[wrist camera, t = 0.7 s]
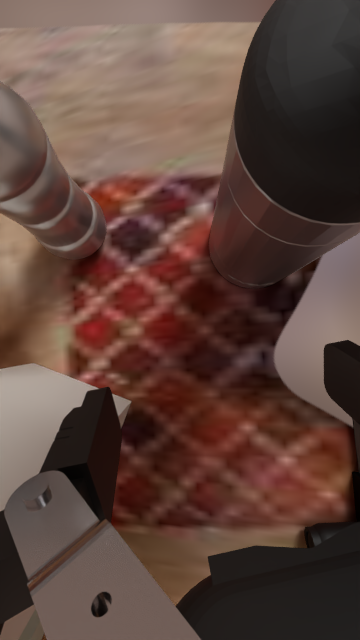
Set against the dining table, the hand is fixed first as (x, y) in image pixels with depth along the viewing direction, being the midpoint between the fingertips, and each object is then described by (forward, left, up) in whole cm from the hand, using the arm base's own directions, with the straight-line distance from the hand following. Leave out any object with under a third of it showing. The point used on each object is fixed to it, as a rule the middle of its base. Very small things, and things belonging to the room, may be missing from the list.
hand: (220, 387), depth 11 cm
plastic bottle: (-10, -15, -19) cm, 26 cm away
